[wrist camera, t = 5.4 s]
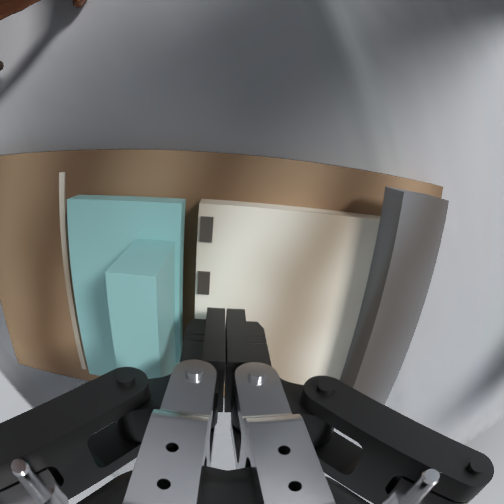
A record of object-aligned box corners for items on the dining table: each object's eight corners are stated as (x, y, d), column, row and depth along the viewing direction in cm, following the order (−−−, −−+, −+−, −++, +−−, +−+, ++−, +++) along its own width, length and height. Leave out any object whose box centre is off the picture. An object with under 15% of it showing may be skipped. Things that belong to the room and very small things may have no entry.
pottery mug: (-9, -21, 8) (-11, -98, 1) (104, -15, 14) (139, -97, 7) (-79, 134, 9) (-141, 93, 2) (47, 141, 14) (35, 85, 7)
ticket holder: (432, 184, 15) (477, 196, 11) (378, 381, 19) (400, 419, 15) (-4, 156, 12) (-49, 162, 9) (25, 355, 16) (-1, 389, 13)
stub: (185, 199, 13) (163, 226, 8) (183, 371, 16) (173, 440, 11) (78, 194, 12) (18, 218, 8) (96, 360, 15) (65, 421, 11)
